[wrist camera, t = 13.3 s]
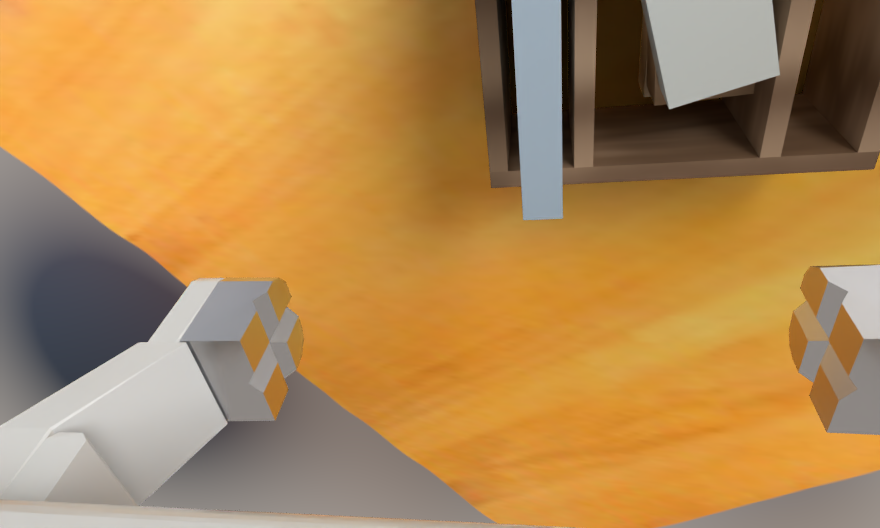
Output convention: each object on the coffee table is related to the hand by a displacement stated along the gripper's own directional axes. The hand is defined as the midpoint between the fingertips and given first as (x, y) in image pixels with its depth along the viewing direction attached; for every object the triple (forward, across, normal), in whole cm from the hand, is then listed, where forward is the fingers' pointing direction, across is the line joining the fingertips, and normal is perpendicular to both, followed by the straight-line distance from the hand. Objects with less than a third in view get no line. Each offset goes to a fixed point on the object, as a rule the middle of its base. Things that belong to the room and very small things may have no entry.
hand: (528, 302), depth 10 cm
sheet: (+31, 0, 0) cm, 31 cm away
